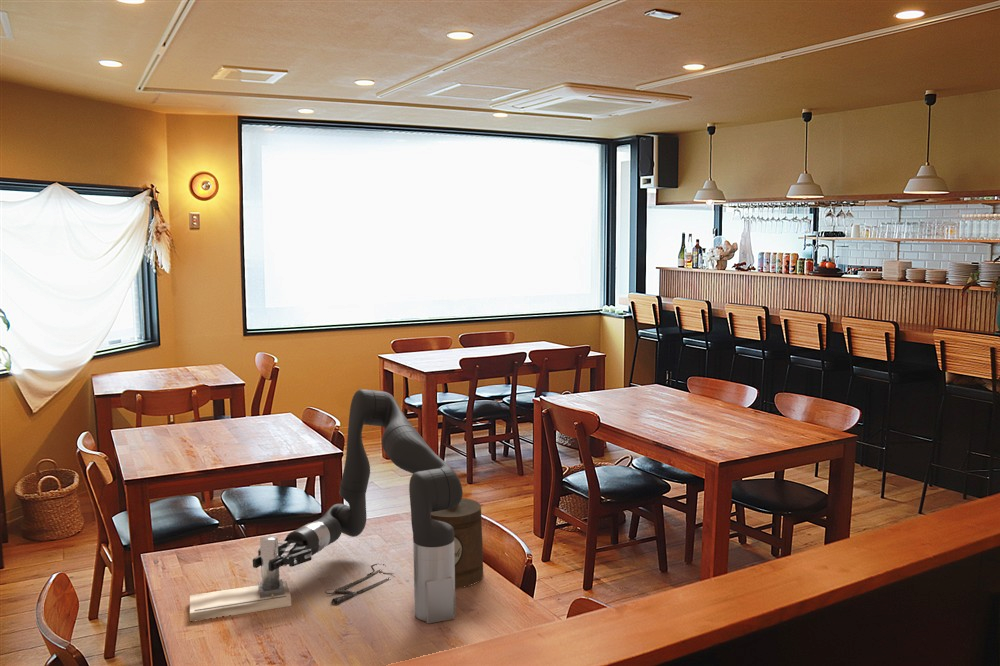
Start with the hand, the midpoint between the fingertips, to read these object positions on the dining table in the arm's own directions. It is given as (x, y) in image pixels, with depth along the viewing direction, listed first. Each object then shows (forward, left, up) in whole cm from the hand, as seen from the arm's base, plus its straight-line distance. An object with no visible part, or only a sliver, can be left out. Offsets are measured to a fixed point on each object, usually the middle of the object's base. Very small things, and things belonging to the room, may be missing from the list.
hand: (262, 565), depth 192 cm
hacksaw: (+4, -23, -10) cm, 25 cm away
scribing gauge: (+2, -2, -8) cm, 8 cm away
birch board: (+2, +5, -10) cm, 11 cm away
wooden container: (-1, -46, -10) cm, 47 cm away
